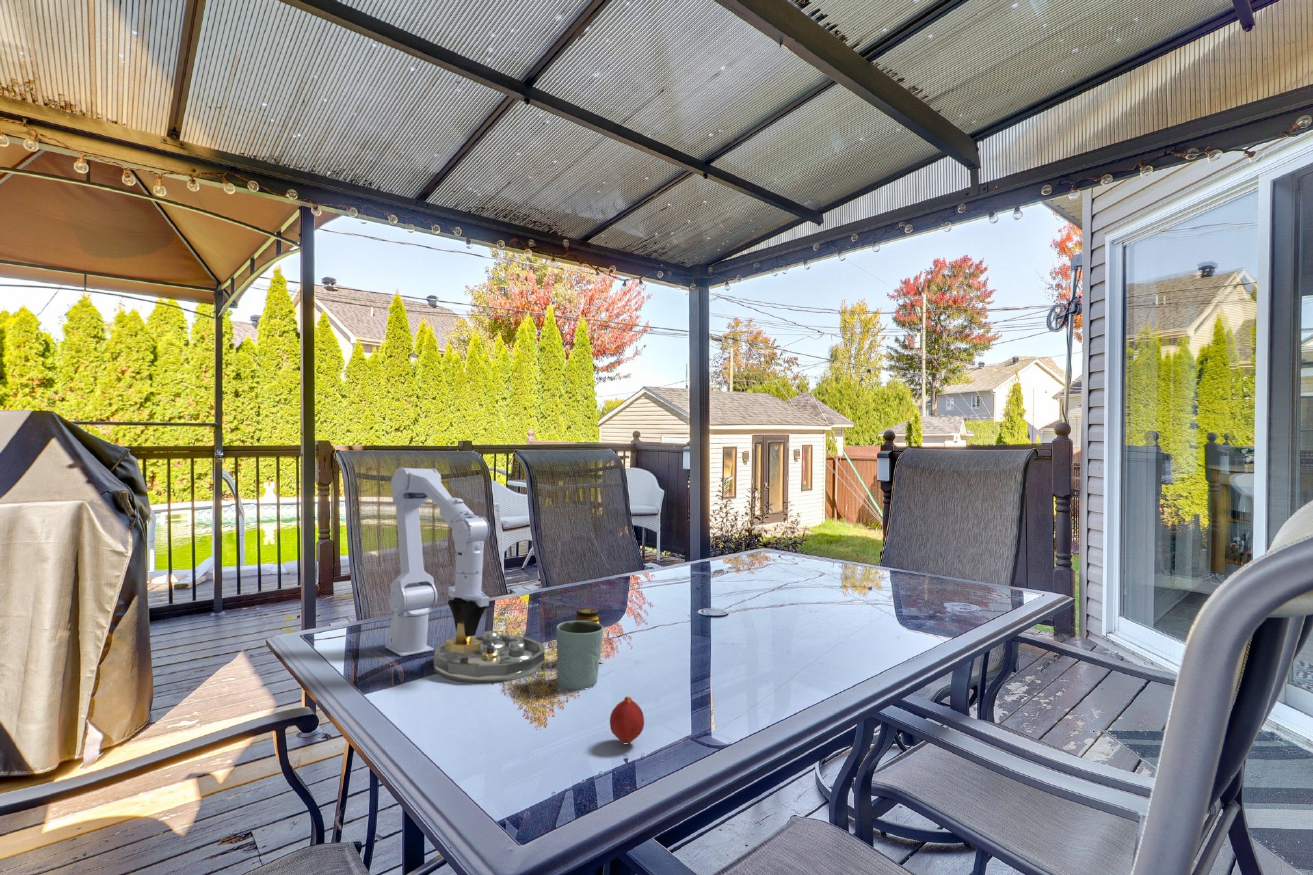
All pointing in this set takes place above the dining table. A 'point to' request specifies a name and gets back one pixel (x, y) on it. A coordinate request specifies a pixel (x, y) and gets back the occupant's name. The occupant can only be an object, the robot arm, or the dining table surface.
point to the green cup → (578, 654)
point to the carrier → (491, 659)
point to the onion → (627, 720)
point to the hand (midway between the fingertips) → (465, 633)
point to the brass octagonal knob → (462, 642)
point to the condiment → (587, 615)
